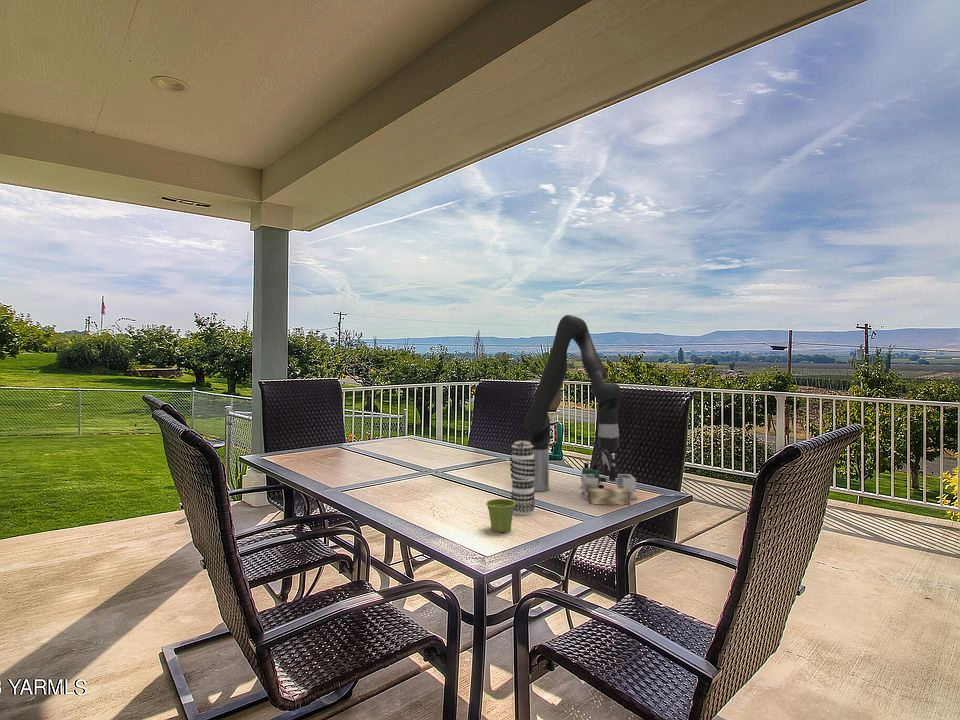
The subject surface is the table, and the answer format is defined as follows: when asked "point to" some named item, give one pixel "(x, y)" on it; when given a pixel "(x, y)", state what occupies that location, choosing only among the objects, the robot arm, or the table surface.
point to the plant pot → (500, 514)
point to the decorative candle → (522, 477)
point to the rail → (609, 496)
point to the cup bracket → (623, 483)
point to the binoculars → (593, 471)
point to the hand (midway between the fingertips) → (609, 478)
